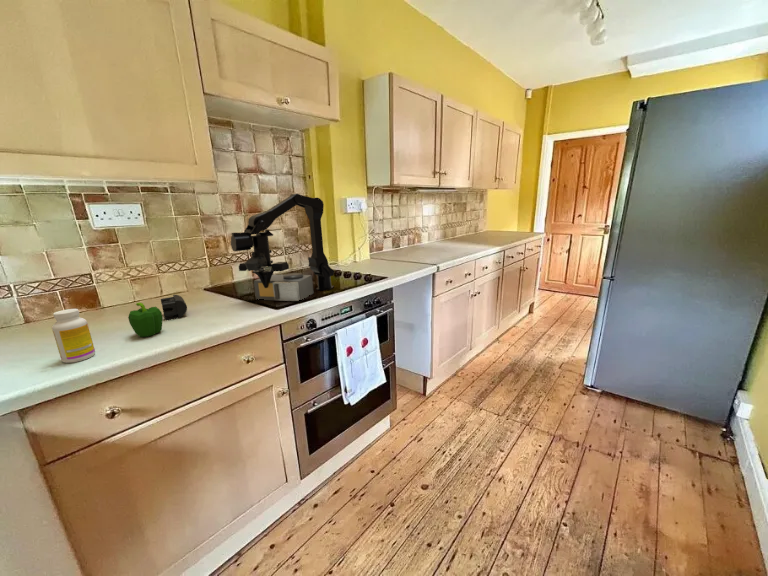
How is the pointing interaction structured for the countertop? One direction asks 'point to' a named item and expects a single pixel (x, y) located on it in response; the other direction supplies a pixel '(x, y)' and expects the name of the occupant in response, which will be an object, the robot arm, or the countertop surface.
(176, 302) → the end cap
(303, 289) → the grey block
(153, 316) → the bell pepper
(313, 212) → the robot arm
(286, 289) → the side door
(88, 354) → the supplement bottle
